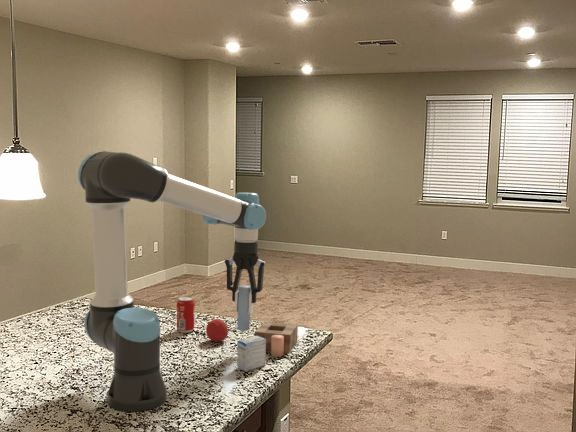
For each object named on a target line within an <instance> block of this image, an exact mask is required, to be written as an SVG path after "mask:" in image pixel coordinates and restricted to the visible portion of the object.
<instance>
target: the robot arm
mask: <svg viewBox="0 0 576 432" xmlns="http://www.w3.org/2000/svg"><path fill="white" fill-rule="evenodd" d="M77 178H78V182H79V184H80V186H81V188H83V190H84V191H85V192H84V193H85V194H84V196H85V204H86V205H88V207H90V209H91V218H92V238H93V245H92V247H93V266H94V267H93V268H94V269H93V270H94V290H95V291H94V292H95V293H94V297H93V298H92V299H91V300H90V301H89V309H88V311H87V313H86V314H85V316H84V323H83V325H84V329H85V333H86V335H87V336H88V338H89V339H90V340H91V341H92V342H93V343H94V344H95V345H97V346H99V347H101V348H103V349H106V350H108V351H109V352H110V353H113V363H114V364H113V365H114V366H113V369H114V370H113V372H114V373H113V376H112V378H111V381H110V384H109V385H110V386H109V388H108V391H107V405H108V406H109V407H110V408H112V409H114V410H117V411H122V412H142V411H146V410H147V411H148V410H152V409H155V408H157V407H159V406H161V405H163V404H164V403H165V402H166V401H167V394H168V393H167V391H168V390H167V386H166V383H165V381H164V378H163V375H162V373H161V365H160V364H161V325H160V318H159V316H158V314H157V313H156V312H155V311H153V310H152V309H151V310H150V309H148V308H142V307H135V304H134V301H135V300H134V298H133V296H131V295H130V294H129V292H128V267H127V266H128V263H127V260H128V258H127V236H126V235H127V233H126V230H127V229H126V207H127V206H128V205H129V204H130V203H131V199H133V200H142V201H146V202H149V203H152V204H153V203H156V202H161V203H165V204H168V205H171V206H174V207H178V208H180V209H183V210H186V211H190V212H193V213H196V214H199V215H201V217H202V219H203V221H204V223H205V224H207V225H215V226H216V225H226V226H229V227H230V226H231V227H234V240H235V241H234V243H233V246H234V247H233V249H234V250H233V255H232V257H231V258H226V259H224V263H225V266H226V289H227V290H229V291H231V293H232V295H231V300H232V302H234V313H238V287H239V286H240V282H241V277H242V272H243V270H246V272H247V273H248V280H249V286H251V293H249V313H248V314H250V315H252V313H253V312H254V304H255V303H257V294H258V293H261V291H263V287H264V275H265V274H264V273H265V272H264V271H265V267H266V264H267V262H266V261H265V260H264V261H263V260H261V259H260V258H259V256H258V240H259V239H258V238H259V229H261V228H262V227H263V226H264V225H265V223H266V220H267V212H266V209H265V207H263V206H262V205H261V204H260V198H259V194H258V193H256V192H236V193H235V197H234V196H231V195H228V194H227V193H223V192H220V191H217V190H215V189H213V188H212V189H211V188H209V187H206V186H204V185H200V184H197V183H195V182H192V181H190V180H187V179H184V178H181V177H179V176H176V175H173V174H170V173H168V171H167V170H166V168H164V167H162V166H159V165H157V164H155V163H153V162H150V161H148V160H145V159H143V158H141V157H139V156H137V155H133V154H132V153H127V152H117V151H116V152H114V151H105V150H102V151H97V152H93V153H91V154H88V155H87V156H86V157H85V158H84V159H83V160H82V161H81V163H80V165H79V167H78V171H77ZM233 265H236V268H235V269H236V270H235V276H234V277H233ZM256 265H257V266H258V271H257V280H256V276H255V266H256ZM233 278H234V280H233ZM256 281H257V283H256Z"/></svg>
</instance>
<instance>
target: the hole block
mask: <svg viewBox="0 0 576 432" xmlns="http://www.w3.org/2000/svg"><path fill="white" fill-rule="evenodd" d="M298 326H299V325H298V324H294V323H293V324H292V323H291V324H290V323H281V322H270V321H269V322H267V321H264V322H262V324H261V325H259V327H258V328H257V329H256V330H255V331H254V336H259V337H262V338H264V339H266V351H270V352H271V336H273V335H282V336H284V351H283V353H288V354H289V353H291V352H292V350H293V349H294V348H295V346H296V344H297V343H298V332H299V331H298Z"/></svg>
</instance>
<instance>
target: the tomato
mask: <svg viewBox="0 0 576 432" xmlns="http://www.w3.org/2000/svg"><path fill="white" fill-rule="evenodd" d="M227 325H228V324H227V323H225V322H224V320H222V319H219V318H216V319H212V320H211V321H208V324H207V325H206V329H205V331H206V332H205V333H206V336H207V338H208V339H209V340H210V341H212V342H215V343H219V342H220V343H221V342H222V341H224V340H226V339H227V337H228V335H229V328H228V326H227Z"/></svg>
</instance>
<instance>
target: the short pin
mask: <svg viewBox="0 0 576 432" xmlns="http://www.w3.org/2000/svg"><path fill="white" fill-rule="evenodd" d="M283 351H284V336H282V335H273V336H271V351H270V355H271V356H272V357H275V358H276V357H277V358H279V357H283V356H284V352H283Z"/></svg>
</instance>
